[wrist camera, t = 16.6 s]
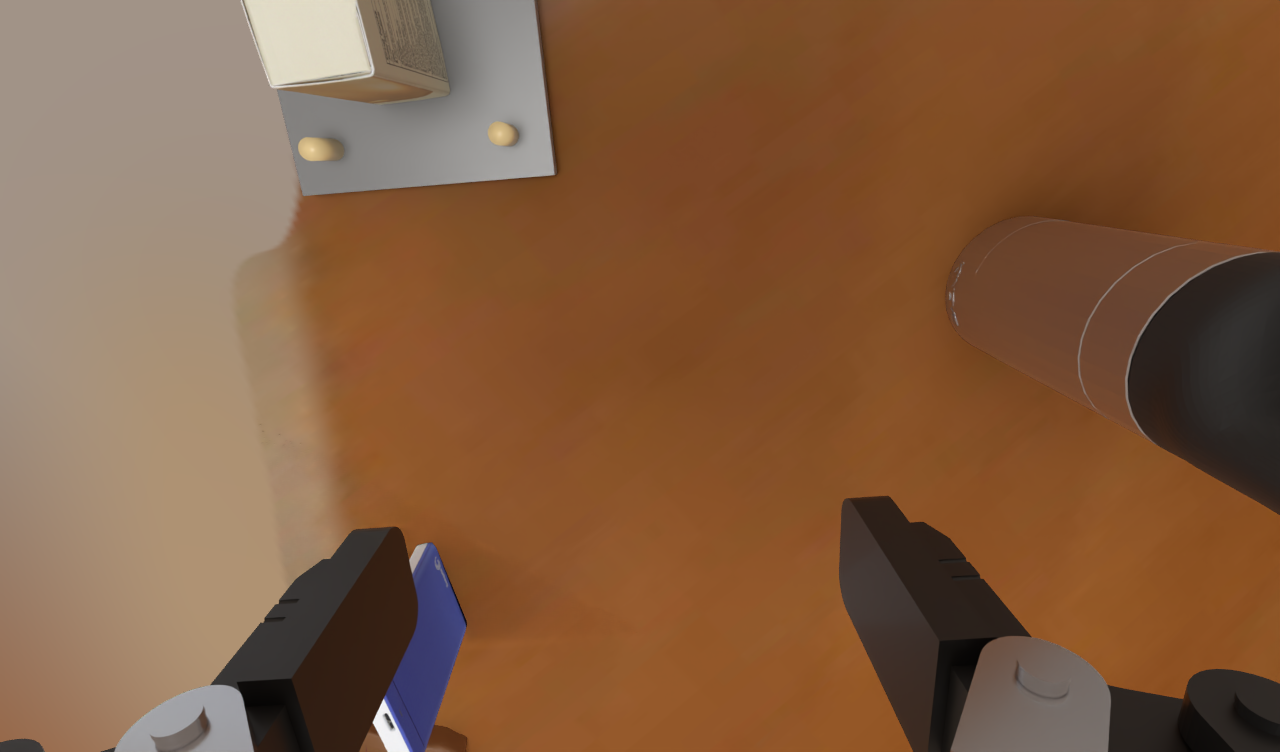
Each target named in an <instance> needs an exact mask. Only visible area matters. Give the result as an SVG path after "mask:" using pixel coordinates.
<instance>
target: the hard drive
mask: <svg viewBox="0 0 1280 752" xmlns="http://www.w3.org/2000/svg"><path fill="white" fill-rule="evenodd" d="M409 562H410V566H411V571H412V575H413V580H414V584H415V589H416V593H417V598H418V619H417V625H416V629H415V632H414V635H413V637H412V639H411V641H410V643H409V646H408V648H407V650H406V652H405V654H404V656H403V659H402V661H401V663H400V665H399V667H398V669H397V671H396V674H395V676H394V678H393V680H392V682H391V684H390V686H389V689H388V691H387V693H386V695H385V697H384V699H383V701H382V704H381V706H380V708H379V710H378V712H377V714H376V716H375V719H374V721H373V724H374V726H375V728H376V730H377V732H378V733H379V736H380V737H381V740H382V741H383V743H384V746H385V748H386V749H387V751H388V752H425V750H426V747H427V744H428V741H429V738H430V735H431V732H432V729H433V726H434V723H435V720H436V717H437V714H438V711H439V708H440V705H441V702H442V699H443V696H444V693H445V690H446V687H447V684H448V681H449V679H450V675H451V672H452V669H453V666H454V663H455V660H456V657H457V654H458V651H459V648H460V645H461V642H462V639H463V636H464V633H465V630H466V627H467V621H466V618H465V616H464V614H463V611H462V608H461V606H460V604H459V601H458V599H457V597H456V594H455V592H454V589H453V587H452V585H451V582H450V580H449V577H448V575H447V572H446V570H445V567H444V565H443V563H442V560H441V558H440V556H439V553H438V551H437V548H436V547H435V545H434V544H433V543H424V544H420V545H417V546H416V548H415V550H414V552H413V554H412V556H411V558H410V560H409Z"/></svg>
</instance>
